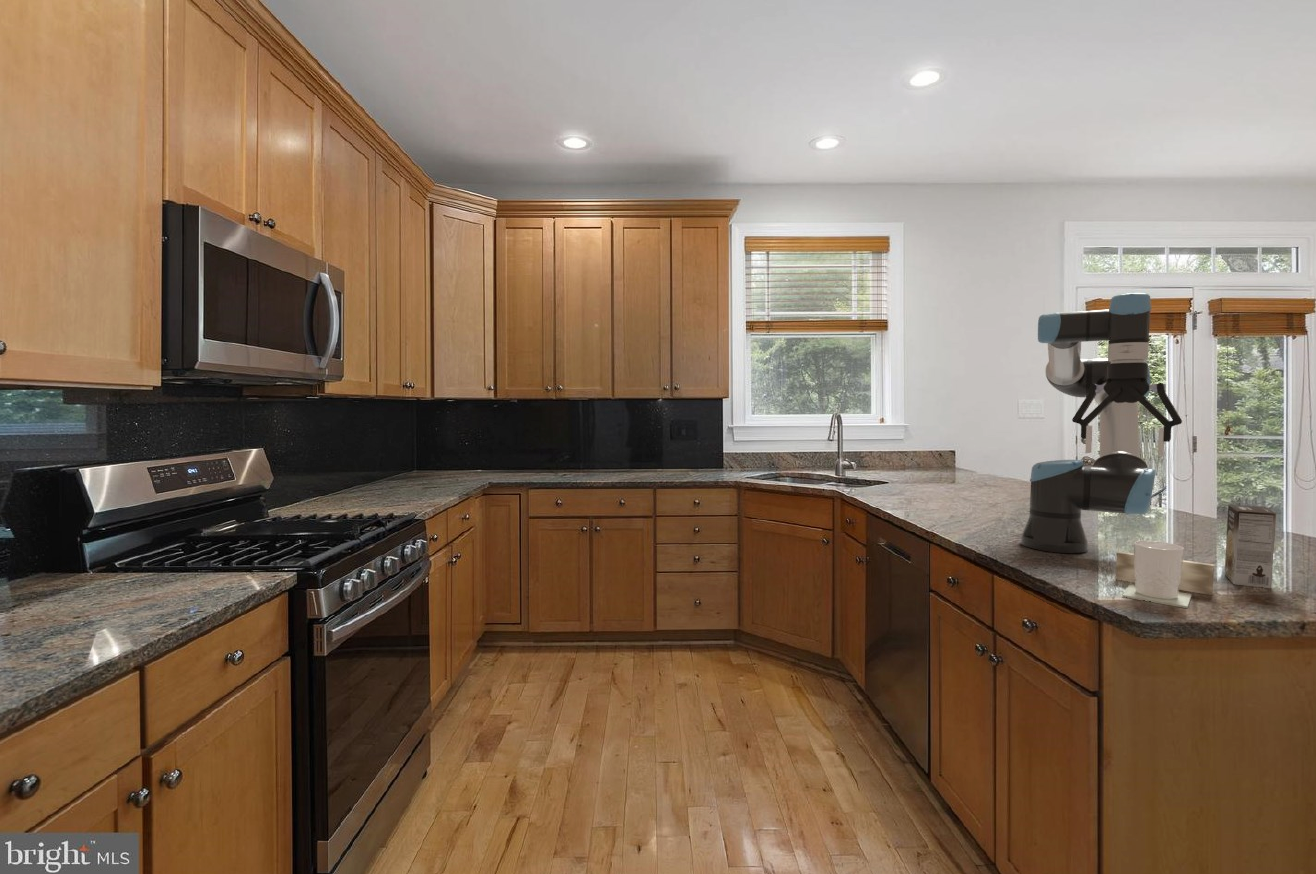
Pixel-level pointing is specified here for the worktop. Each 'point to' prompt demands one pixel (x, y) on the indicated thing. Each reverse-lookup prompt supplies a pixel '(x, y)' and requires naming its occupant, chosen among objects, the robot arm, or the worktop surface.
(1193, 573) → the birch screen
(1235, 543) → the coffee box
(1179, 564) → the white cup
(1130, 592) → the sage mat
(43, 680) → the worktop surface
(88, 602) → the worktop surface
